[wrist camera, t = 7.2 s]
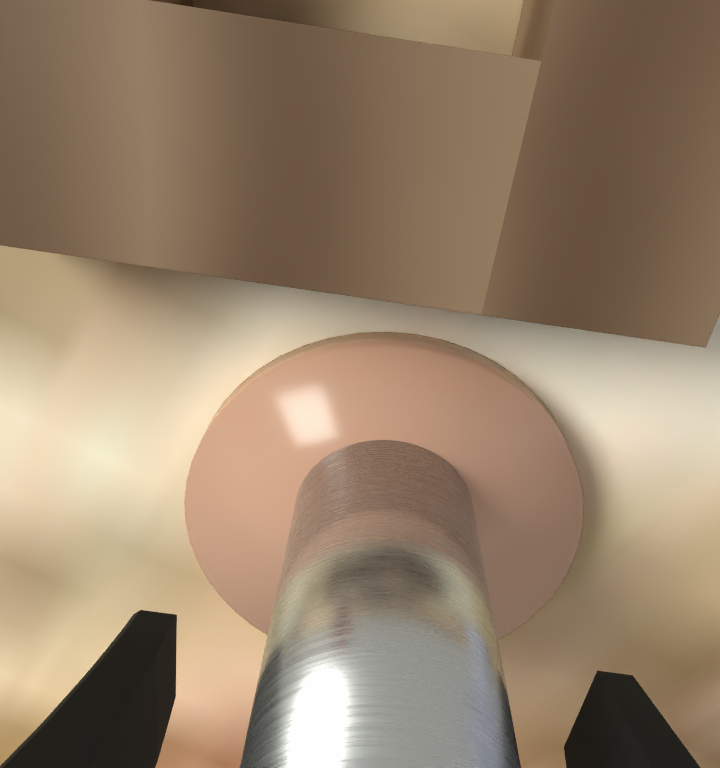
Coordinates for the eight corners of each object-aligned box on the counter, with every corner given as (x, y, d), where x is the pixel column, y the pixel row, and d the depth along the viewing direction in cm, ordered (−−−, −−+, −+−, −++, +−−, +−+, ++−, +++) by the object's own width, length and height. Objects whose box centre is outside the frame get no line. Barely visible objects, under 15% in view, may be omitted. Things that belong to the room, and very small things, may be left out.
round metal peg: (490, 451, 14) (571, 782, 8) (456, 591, 16) (499, 950, 9) (301, 429, 14) (227, 743, 7) (289, 572, 16) (222, 920, 9)
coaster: (627, 364, 14) (640, 381, 13) (520, 661, 18) (525, 687, 17) (198, 303, 13) (188, 317, 13) (190, 618, 17) (181, 642, 17)
